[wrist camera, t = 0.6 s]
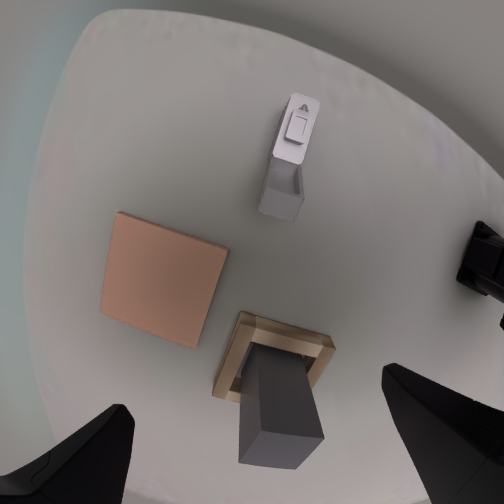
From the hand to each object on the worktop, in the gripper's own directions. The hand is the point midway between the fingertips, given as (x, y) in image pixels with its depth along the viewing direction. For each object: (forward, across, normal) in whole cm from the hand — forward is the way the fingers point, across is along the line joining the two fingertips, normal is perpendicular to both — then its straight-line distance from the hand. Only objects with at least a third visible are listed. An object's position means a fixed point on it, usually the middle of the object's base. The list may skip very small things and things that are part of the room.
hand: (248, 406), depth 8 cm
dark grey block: (+14, 0, +8) cm, 16 cm away
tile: (+13, +7, -1) cm, 15 cm away
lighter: (+14, -4, -8) cm, 16 cm away
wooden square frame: (+14, 0, +8) cm, 16 cm away
